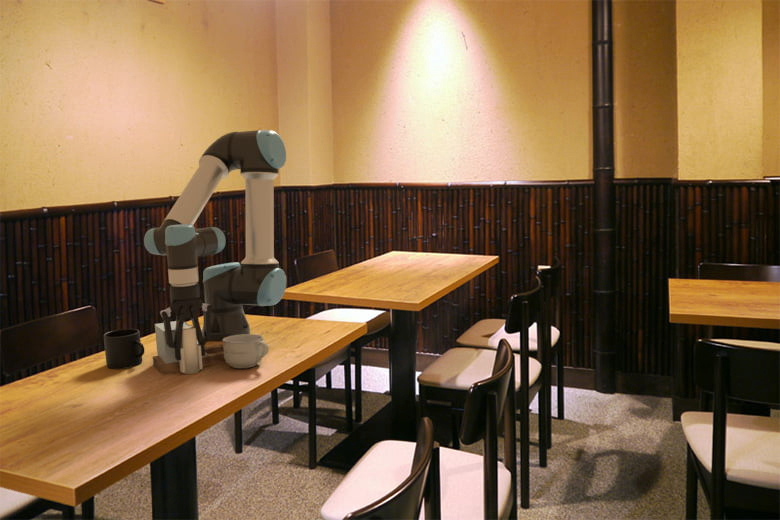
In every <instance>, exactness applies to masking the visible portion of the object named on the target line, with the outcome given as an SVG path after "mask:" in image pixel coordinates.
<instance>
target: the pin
mask: <svg viewBox="0 0 780 520" xmlns="http://www.w3.org/2000/svg"><path fill="white" fill-rule="evenodd" d="M181 346H182V348H184V358H185V370H186V372H185V373H183V374H185V375H194V374H197V373H199V372H200V369H199V362H198V349H197V336H196V328H195V327H194V326H193V325H190V326H188V327H183V331H182V339H181Z"/></svg>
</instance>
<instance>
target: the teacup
mask: <svg viewBox="0 0 780 520" xmlns="http://www.w3.org/2000/svg"><path fill="white" fill-rule="evenodd" d="M222 345H223V350H224V358H225V361H226V362H225V363H227V364H228V365H229V366H231V367H232V368H234V369H249V368H252V367H253V368H254V367H256V366H257V365H258V363H260V362H261V361H262V359H263V358H264V357H266V356H267V354H268V353H269V346H268V345H269V344H267V342H266V341H264V336H262V335H260V334H254V333H253V334H251V333H250V334H242V335H234V336H229V337H225V338H224V339H223V341H222Z"/></svg>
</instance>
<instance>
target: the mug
mask: <svg viewBox="0 0 780 520" xmlns="http://www.w3.org/2000/svg"><path fill="white" fill-rule="evenodd" d="M103 343H104V353H105V364H106V367H107V368H109V369H113V370H114V369H115V370H118V369H119V370H123V369H129V368H132V367H136V366H138V365H141V364H142V362H143V356H144V355H145V346H144V344H143V343H142V342H141V332H140V330H139V329H136V328H124V329H115V330H111V331H108V332H105V333H104V334H103Z"/></svg>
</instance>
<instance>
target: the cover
mask: <svg viewBox="0 0 780 520" xmlns="http://www.w3.org/2000/svg"><path fill="white" fill-rule="evenodd" d="M170 323H171V330H172V338H173V342H174V338H175V329H176V320H175V321H170ZM188 326H191V325H190V324H188V323H187V322H185V321H184V323H183V327H188ZM154 331H155V341H156V351H157V352H156V354H157V355H156V356H159V357H160V358H161V359H162V360H163V361H164V362H165V363H166V364H168V363H173V362H179V360H178V361H177V360H176V358H175V349H174V348H170V347H169V346H167V343H166V336H165V329H164V322H161V323H154ZM181 347H182V346H181Z"/></svg>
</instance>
